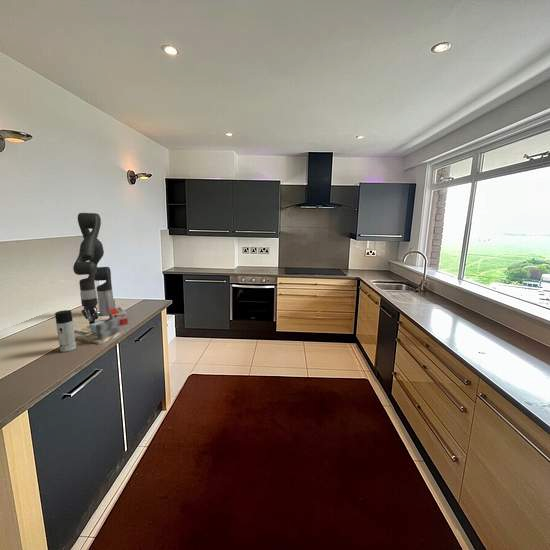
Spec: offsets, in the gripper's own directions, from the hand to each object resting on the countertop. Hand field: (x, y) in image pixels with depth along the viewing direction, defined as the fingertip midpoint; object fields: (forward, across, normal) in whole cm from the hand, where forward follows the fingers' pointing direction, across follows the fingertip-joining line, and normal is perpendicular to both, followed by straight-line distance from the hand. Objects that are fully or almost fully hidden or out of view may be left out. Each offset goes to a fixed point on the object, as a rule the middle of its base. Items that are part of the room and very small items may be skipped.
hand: (92, 326), depth 165 cm
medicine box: (+6, +5, -21) cm, 22 cm away
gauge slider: (+4, -5, +2) cm, 7 cm away
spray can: (+5, -6, +18) cm, 19 cm away
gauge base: (+5, -2, 0) cm, 5 cm away
